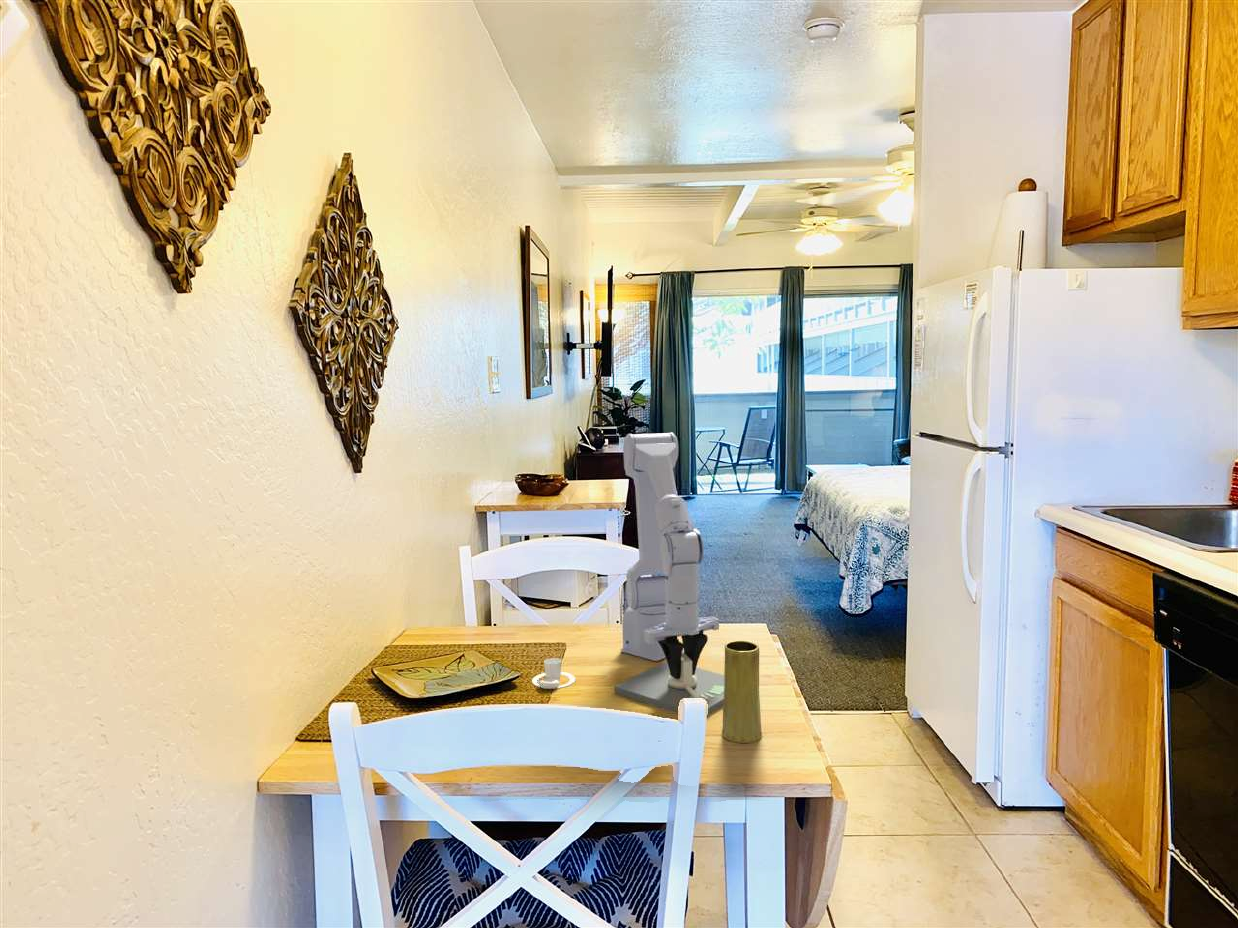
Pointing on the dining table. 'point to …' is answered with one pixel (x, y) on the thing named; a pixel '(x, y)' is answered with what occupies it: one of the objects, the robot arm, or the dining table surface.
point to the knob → (685, 677)
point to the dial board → (662, 695)
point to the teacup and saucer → (552, 675)
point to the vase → (741, 692)
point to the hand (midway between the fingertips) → (682, 675)
